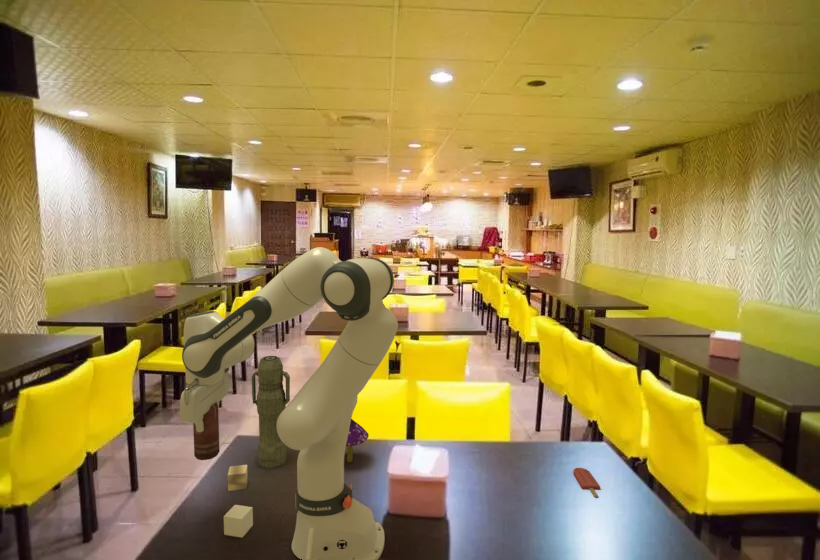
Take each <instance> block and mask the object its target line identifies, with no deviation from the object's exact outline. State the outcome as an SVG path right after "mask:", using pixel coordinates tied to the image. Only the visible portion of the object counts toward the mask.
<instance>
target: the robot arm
mask: <svg viewBox="0 0 820 560" xmlns="http://www.w3.org/2000/svg"><path fill="white" fill-rule="evenodd" d="M394 282H395V277H394V272H393V270H392V269H391V267H390V266H389V264H388V263H387V262H385V261H383V259H380V258H377V257H355V258H352V259H351V258H350V259H347V260H343V261H342V260H341V259H340V258H339V257H338V255H336V253H334V252H333V251H332V250H331V249H329V248H325V247H321V246H319V247H315V248H312V249H310V250H308V251H306V252H305V253H303V254H301V255H299V256H298V257H297V258H295V259H294V260H293V261H291V262H290V263H289V264H288V265H286V266H285V267H284V268H283V269H282V270H281V271H279V272H278V273H277V275H275V276H274V277H273V278H272V279H270V281H269V282H268V283H266V284H265V285H264V286H263V288H261V289H260V290H259V291H258V292H257V293H255V294H254V295H253V296H252V297H250V299H249V300H248V301H246V302H245V303H244V304H243V305H241V306H240V307H239V308H237V309H236V310H234V311H232V313H231V314H229V315H228V316H226V318H223V317H222V316H221V315H220V313H218V312H217V310H216V311H215V310H207V311H202V312H197V313H192V314H190V315H188V316H187V317H186V318H185V321H184V324H183V349H182V353H181V359H182V363H183V366H184V368H185V369H184V372H185V383H186V385H185V389H184V390H183V391H182V392H181V395H180V402H179V419H180V421H181V422H182V423H187V424H188V423H192V424H193V423H194V424H195V425H196V431H197V432H202V431H203V430H204V429H205V423H203V420H202V419H203V415H204V414H205V413H207V412H208V411H209V409H210V407H211V405H214V404H216V402H217V404H218V409H219V407H220V402H221V401H222V400H223V399H224V398H225V397H226V396H227V395H228V392H229V389H230V385H229V384H230V377H229V372H230V369H231V367H233V366H235V365H238V364H240V363H242V362H244V361H246V360H248V359H249V358H250V359H251V357H252V355H253V354H254V352H255V347H256V342H255V338H254V335H253V334H255V333H257V332H258V331H260V330H263V329H265V328H268V327H271V326H273V325H277V324H279V323H283V322H288V321H289V320H292V319H295V318H298V317H299V316H301V315H303V314H304V313H306V312H308V311H310V309H312V308H314V307H315V306H316V305H317V304H319V302H320V301H322V300H323V299H324V302H325V303H326V304H327V305H328V306H329V308H331V310H333V311H335V312H336V313H337V314H338V317H340V318H341V320H345V321H347V323H346V325H345V327H344V328H343V330H342V332H341V333H340V335H339V336H338V338H337V339H336V341H335V342H334V344H333V346H332V348H331V349H330V351H329V352H328V354H327V355H326V357H325V358H324V360H323V361H322V363H320V365H319V367H318V368H317V369H316V370H315V371H314V373H313V374H312V375H311V376H310V377H309V378H308V379H307V381H306V382H304V384H303V385H302V387H301V388H300V390H299V391H298V392H297V393H296V395H295V396H294V397H293V398H292V399H291V401H289V402H288V404H287V406H286V408H285V409H284V410H283V411H282V412H281V414H280V415H279V417H278V419H277V432H278V435H279V437H280V439H281V441H282V442H283V443H284V444H285V445H286V446H287V447H288V448H289V449H291V450H295V451H299V452H298V456H297V460H296V469H297V471H296V472H297V473H296V476H297V477H296V478H297V481H296V482H297V484H296V485H297V488H296V489H295V495H294V496H295V497H294V499H295V500H294V503H295V504H294V505H295V512H296V521H295V522H296V523H295V528H294V534H293V536H292V537H293V539H292V541H291V551H292V553H293V554H294V555H295V556H296V557H297V558H298V559H300V560H301V559H302V560H379V559H380V558H381V555H382V554H383V551H384V549H385V540H386V539H385V530H384V527H383V526H382V524H381V523H380V522H378V521H375V516H374V513H373V511H372V509H370V507H368V506H367V505H364V504H363V503H362V502H360V501H359V500H357V499H355V498H354V497H353V496H354V495H353V484H352V483H351V484H350V485H349V486H348V484H346V483H345V456H346V455H345V453H346V448H347V446H346V443H347V438H348V433H349V428H350V422H351V419H353V418H352V417H353V413H354V410H355V408H356V406H357V404H358V395H359V394H360V393H361V392H362V391H363V390H364V388H365V387H366V385H367V384H368V382H369V381H370V379H371V377H372V376H373V375H374V373H375V372H376V370H377V369H378V367H379V366H380V364H381V363H382V361H383V360H384V359H385V357H386V356H387V353H388V351H389V350H390V348H391V346H392V344H393V342H394V339H395V338H396V337H395V336H396V334H397V333H398V328H399V323H398V319H397V317H396V315H395V314H394V312H392V311H391V310H390V309H389V308H387V307H386V305H385V304H384V302H383V300H385V299H386V298H387V297H388V296H389V294H390V293H391V291H392V290H393V287H394V284H395V283H394Z"/></svg>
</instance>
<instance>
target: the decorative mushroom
mask: <svg viewBox="0 0 820 560" xmlns="http://www.w3.org/2000/svg"><path fill="white" fill-rule="evenodd" d="M369 437H370V436H369V433H368V432H367V430H366V429H365V428H364V427H363V426H361V425H360V424H359V423H358V422H356V421H355V420H354V419H353V418H351V422H350V428H349V433H348V438H347V443H346V448H347V458H346V462H347V463H351V462H353V455H354V454H353V451H354V450H353V447H354V446H359V445H361V444H363V443H364V442H366V441H367V440H368V438H369Z"/></svg>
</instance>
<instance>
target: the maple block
mask: <svg viewBox="0 0 820 560" xmlns="http://www.w3.org/2000/svg"><path fill="white" fill-rule="evenodd" d="M248 472H249V470H248V464H242V465H241V464H240V465H231V466H229V468H228V473H227V491H228V492H232V491H239V490H240V491H241V490H246V489H247V486H248V481H249V479H248V478H249V477H248V476H249V475H248V474H249V473H248Z"/></svg>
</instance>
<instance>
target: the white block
mask: <svg viewBox="0 0 820 560" xmlns="http://www.w3.org/2000/svg"><path fill="white" fill-rule="evenodd" d="M253 513H254V511H253V506H247V505H241V504H234V505H233V506H232V507H230V509H229V510H228V511H227V512H226V513H225V515H223V533H224V534H223V535H224V536H230V537H235V538H243V537H244V536H245V535H246V534H247V533H248V532H249V530H250V529H251V528H252V527H253V525H254V514H253Z"/></svg>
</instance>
